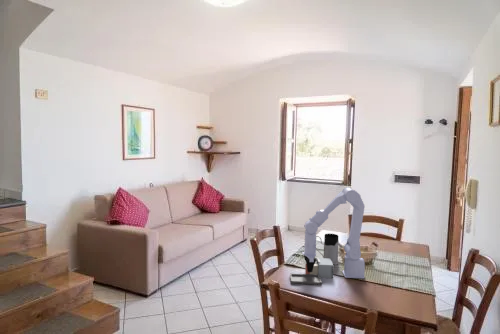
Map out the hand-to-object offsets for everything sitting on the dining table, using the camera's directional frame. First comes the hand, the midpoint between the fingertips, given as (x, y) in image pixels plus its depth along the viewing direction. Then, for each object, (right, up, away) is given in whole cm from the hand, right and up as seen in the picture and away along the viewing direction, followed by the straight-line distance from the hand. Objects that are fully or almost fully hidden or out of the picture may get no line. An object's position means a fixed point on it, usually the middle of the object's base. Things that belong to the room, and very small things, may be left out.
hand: (309, 270), depth 163 cm
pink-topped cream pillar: (+3, -2, 0) cm, 3 cm away
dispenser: (+8, -2, 0) cm, 8 cm away
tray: (-4, -2, -9) cm, 10 cm away
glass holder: (+12, 0, +17) cm, 21 cm away
